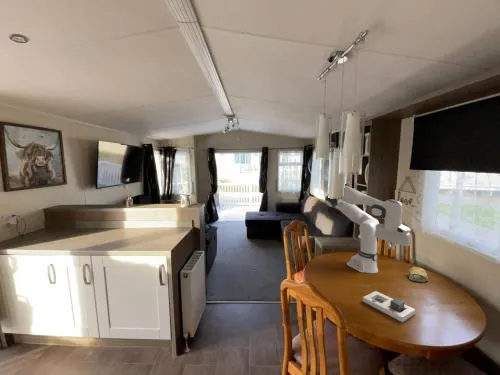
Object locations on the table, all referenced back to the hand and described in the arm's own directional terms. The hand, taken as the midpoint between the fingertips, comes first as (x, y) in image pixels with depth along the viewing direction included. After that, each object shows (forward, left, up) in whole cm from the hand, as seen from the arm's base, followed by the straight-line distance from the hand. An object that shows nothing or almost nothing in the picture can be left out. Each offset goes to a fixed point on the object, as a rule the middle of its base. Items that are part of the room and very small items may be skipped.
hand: (391, 248), depth 148 cm
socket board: (+8, -15, -29) cm, 34 cm away
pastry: (-1, +38, -30) cm, 48 cm away
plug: (+13, -15, -28) cm, 35 cm away
